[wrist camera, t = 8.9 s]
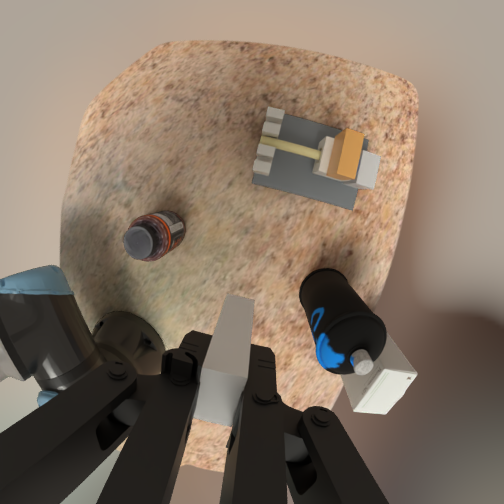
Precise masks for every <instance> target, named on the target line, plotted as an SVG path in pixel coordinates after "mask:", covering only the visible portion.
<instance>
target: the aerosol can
mask: <svg viewBox="0 0 504 504" xmlns="http://www.w3.org/2000/svg"><path fill="white" fill-rule="evenodd" d="M299 298H300V302H301V305H302V306H303V308H304V310H305V313H306V316H307V319H308V322H309V325H310V329H311V332H312V335H313V338H314V342H315V345H316V356H317V359H318V361H319V363H320V364H321V366H322V367H323V368H324V369H326V370H327V371H329V372H331V373H334V374H341V375H346V374H353V373H356V374H357V375H365V374H367V373H369V372H370V371H371V370H372V369H373V366H374V364H373V362H374V361H376V359H377V358H378V357H379V356H380V354H381V353H382V351H383V349H384V347H385V344H386V339H387V332H386V327H385V325H384V323H383V321H382V320H381V319H380V318H379V317H378V316H377V315H375V314H373V312H372V311H371V310H370V309H369V308H368V306H367V305H366V304H365V303H364V301H363V300H362V299H361V298H360V297H359V295H358V294H357V293H356V292H355V291H354V289H353V288H352V287H351V286H350V285H349V284H348V281H347V279H346V278H345V276H344V275H343V274H342V273H340V272H339V271H337V270H334V269H330V268H323V269H319V270H316V271H314V272H312V273H311V274H309V275H308V276H307V277H306V278H305V280H304V281H303V283H302V285H301V287H300V292H299Z"/></svg>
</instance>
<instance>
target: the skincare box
mask: <svg viewBox="0 0 504 504" xmlns="http://www.w3.org/2000/svg"><path fill="white" fill-rule="evenodd" d="M373 364H374V366H373V369H372V370H371V371H370V372H369V373H367V374H365V375H357V374H356V373H353V374H346V375H341V374H340V375H341V378H342V380H343V383H344V386H345V388H346V391H347V394H348V397H349V400H350V403H351V405H352V408H353V411H354V412H363V413H376V414H387V412H388V411H389V410H390V409H391V408H392V406H393V405H394V404H395V403H396V401H397V400H399V399H400V398H401V397H402V396H403V395H404V393H405V390H406V389H407V388H408V386H409V385H410V384H411V382H412V381H413V380H414V378H415V377H416V376H417V372H416V371H415V370H414V368H413V367H412V366H411V365H410V363H409V362H408V360H407V359H406V357H405V356H404V355H403V353H402V352H401V351H400V349H399V348H398V346H397V345H396V344H395V342H394V341H393V340H392V338H391V337H390V336H389V334H388V333H387V339H386V344H385V347H384V349H383V351H382V353H381V354H380V356H379V357H378V358H377V359H376V361H374V362H373Z"/></svg>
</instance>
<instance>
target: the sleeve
mask: <svg viewBox="0 0 504 504" xmlns="http://www.w3.org/2000/svg"><path fill="white" fill-rule="evenodd" d="M363 139H364V134H362V133H360V132H357V131H354V130H351V129H348V128H346V129H345V130H343V131H342V132H340V133H339V134H338V135H336V136H335V138H331V137H328V136H326V137H325V138H324V139H322V140H321V141H320V142H319V146H318V150H319V151H321V155H320V160H317V159H315V163H314V167H313V171H312V173H314V174H317V175H321V176H324V177H328V178H331V179H334V180H337V181H350V180H353V179H355V177H356V172H357V168H358V163H359V159H360V154H361V149H362V144H363Z"/></svg>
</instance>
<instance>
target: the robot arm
mask: <svg viewBox="0 0 504 504" xmlns="http://www.w3.org/2000/svg"><path fill="white" fill-rule="evenodd" d="M254 301H255V300H253V299H249V298H244V297H240V296H236V295H232V294H228V293H227V296H226V298H225V301H224V304H223V307H222V310H221V313H220V316H219V319H218V322H217V325H216V328H215V331H214V334H213V336H212V335H208V334H205V333H201V332H197V331H193V330H192V331H191V332H189V333H187V334H186V335H185V336H184V338H183V340H182V343H181V344H180V346H179V348H176V349H170V350H167V351H165V348H164V345H163V343H162V341H161V339H160V337H159V336H158V334H157V333H156V331H155V330H154V329H153V328H152V327H151V326H150V325H149V324H148V323H147V322H145V321H144V320H142V319H141V318H139V317H137V316H135V315H133V314H131V313H127V312H121V311H116V312H111V313H108V314H107V315H105V316H104V317H103V318H102V319H100V320H99V321H98V322H97V324H96V325H95V327H94V329H93V332H92V334H91V332H90V330H89V328H88V326H87V324H86V322H85V320H84V318H83V316H82V314H81V311H80V309H79V307H78V305H77V302H76V300H75V298H74V292H73V291H72V290H71V288H70V286H69V284H68V282H67V280H66V277H65V275H64V273H63V271H62V270H61V269H60V268H59V267H57V266H55V265H48V266H43V267H39V268H35V269H31V270H27V271H24V272H21V273H17V274H14V275H11V276H8V277H6V278H3V279H0V382H1V381H2V380H4V379H6V378H7V377H12V378H15V379H18V380H20V381H25V380H26V379H28V378H30V377H31V376H34V378H35V379H36V381H37V383H38V384H39V386H40V387H41V389H42V391H40V392H39V395H38V398H37V402H38V404H39V408H37V409H36V410H34V411H33V412H31V413H30V414H29V415H27V416H25V417H24V418H22V419H21V420H19V421H18V422H16V423H15V424H13V425H12V426H10V427H9V428H8V429H6V430H5V431H3V432H2V433H0V504H60V503H61V502H62V501H63V500H64V499H65V498H66V497H67V496H68V495H69V494H71V492H73V491H74V490H75V489H76V488H77V487H78V486H79V485H80V484H81V483H82V482H83V481H84V480H85V479H86V478H87V477H88V476H89V475H90V474H91V473H92V472H93V471H94V470H95V469H96V468H97V467H98V466H99V465H100V464H101V463H102V462H103V461H104V460H105V459H106V458H107V457H108V456H109V455H110V454H111V453H112V452H113V451H114V450H115V449H116V448H117V447H118V446H119V445H120V444H121V443H122V442H123V441H124V440H125V439H126V438H127V437H128V438H127V440H126V442H125V444H124V446H123V448H122V450H121V452H120V454H119V457H118V459H117V461H116V463H115V465H114V467H113V469H112V471H111V473H110V475H109V477H108V480H107V481H106V484H105V486H104V488H103V490H102V492H101V494H100V496H99V499H98V501H97V503H96V504H169V503H170V500H171V496H172V493H173V489H174V485H175V482H176V478H177V474H178V471H179V468H180V464H181V461H182V457H183V454H184V450H185V447H186V443H187V440H188V436H189V433H190V429H191V424H192V419H193V418H195V419H199V420H203V421H207V422H211V423H216V424H220V425H225V426H230V427H232V431H231V434H230V437H229V440H228V443H227V445H226V448H228V450H227V457H226V463H225V470H224V477H223V484H222V490H221V497H220V504H287V485H288V488H289V490H290V493H291V496H292V499H293V502H294V504H389V503H388V501H387V499H386V498H385V496H384V494H383V493H382V491H381V489H380V488H379V486H378V484H377V483H376V481H375V480H374V478H373V476H372V474H371V473H370V471H369V469H368V468H367V466H366V465H365V463H364V461H363V459H362V458H361V456H360V455H359V453H358V451H357V449H356V448H355V446H354V444H353V443H352V441H351V439H350V438H349V436H348V434H347V432H346V431H345V429H344V427H343V426H342V424H341V422H340V420H339V419H338V417H337V416H336V415H335V414H334V412H332V411H331V410H329V409H327V408H324V407H320V406H313V407H309V408H307V409H306V410H305V411H304V412H302V411H299V410H296V409H294V408H291V407H289V406H287V405H286V404H284V403H283V402H282V399H281V396H280V395H279V394H278V393H277V385H276V370H275V369H276V365H275V355H274V353H273V352H272V350H271V348H268V347H263V346H258V345H254V344H251V335H252V324H253V312H254ZM160 372H161V374H160ZM232 424H233V426H232Z"/></svg>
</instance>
